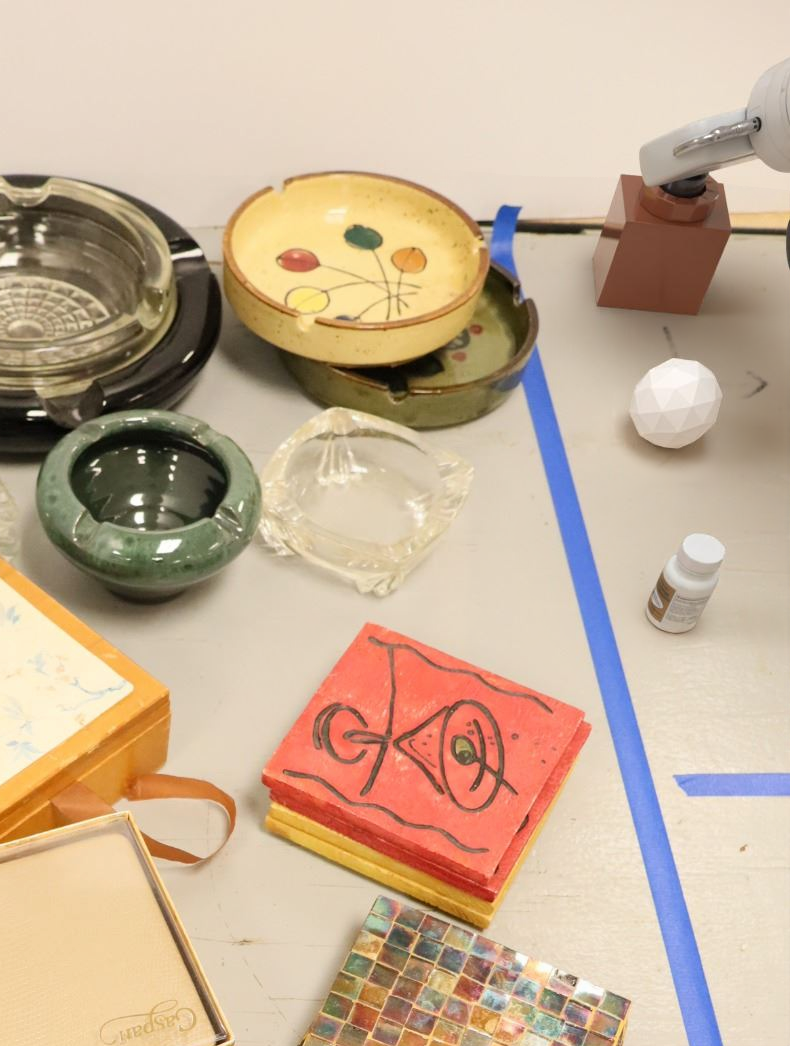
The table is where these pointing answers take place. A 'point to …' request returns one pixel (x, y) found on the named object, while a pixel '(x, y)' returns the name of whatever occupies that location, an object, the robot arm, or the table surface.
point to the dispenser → (660, 247)
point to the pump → (686, 186)
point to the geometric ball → (675, 403)
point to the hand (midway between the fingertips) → (691, 162)
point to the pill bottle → (686, 584)
